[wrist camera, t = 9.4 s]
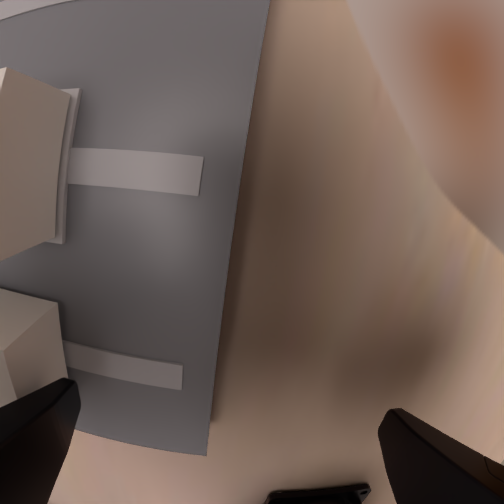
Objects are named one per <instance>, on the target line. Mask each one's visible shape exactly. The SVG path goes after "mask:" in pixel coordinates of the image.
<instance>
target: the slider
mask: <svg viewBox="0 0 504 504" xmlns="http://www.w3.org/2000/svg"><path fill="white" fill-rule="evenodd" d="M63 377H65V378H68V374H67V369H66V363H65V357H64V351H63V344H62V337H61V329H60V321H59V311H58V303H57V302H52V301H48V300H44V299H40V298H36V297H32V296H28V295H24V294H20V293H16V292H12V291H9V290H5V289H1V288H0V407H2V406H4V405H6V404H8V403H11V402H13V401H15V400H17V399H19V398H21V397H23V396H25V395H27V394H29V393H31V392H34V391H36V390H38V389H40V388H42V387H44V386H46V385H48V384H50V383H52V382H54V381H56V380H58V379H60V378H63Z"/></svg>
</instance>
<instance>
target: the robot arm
mask: <svg viewBox="0 0 504 504" xmlns="http://www.w3.org/2000/svg"><path fill="white" fill-rule="evenodd" d="M80 410H81V399H80V394H79V389H78V384H77V382H76V381H75V380H72V379H69V378H65V377H63V378H60V379H58V380H56V381H54V382H52V383H50V384H48V385H46V386H44V387H42V388H40V389H38V390H36V391H34V392H31V393H29V394H27V395H25V396H23V397H21V398H19V399H17V400H15V401H13V402H11V403H8V404H6V405H4V406H2V407H0V504H47V503H48V500H49V498H50V495H51V492H52V490H53V487H54V485H55V482H56V480H57V477H58V475H59V472H60V470H61V467H62V465H63V462H64V460H65V457H66V455H67V452H68V449H69V446H70V443H71V439H72V436H73V433H74V429H75V426H76V422H77V419H78V416H79V413H80ZM378 437H379V441H380V446H381V450H382V455H383V459H384V464H385V468H386V472H387V476H388V479H389V482H390V485H391V488H392V491H393V494H394V497H395V500H396V503H397V504H504V466H503V465H501V464H499V463H497V462H495V461H493V460H491V459H489V458H488V457H486V456H483V455H482V454H480V453H478V452H476V451H475V450H473V449H471V448H469V447H467V446H465V445H464V444H462V443H460V442H458V441H457V440H455V439H453V438H451V437H449V436H448V435H446V434H444V433H442V432H441V431H439V430H437V429H436V428H434V427H432V426H430V425H429V424H427V423H425V422H424V421H422V420H420V419H419V418H417V417H415V416H414V415H412V414H410V413H409V412H407V411H405V410H404V409H402V408H394V409H389V410H388V411H387V413H386V414H385V416H384V418H383V420H382V422H381V424H380V426H379V428H378ZM370 492H371V488H370V486H369V484H363V485H357V486H351V487H344V488H336V489H327V490H317V491H304V492H286V493H273V494H271V495H269V496H268V498H267V500H266V503H265V504H362V502H363V501H364V499H365V498H366V497H367V495H368V494H369V493H370Z"/></svg>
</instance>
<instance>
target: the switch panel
mask: <svg viewBox="0 0 504 504" xmlns="http://www.w3.org/2000/svg"><path fill="white" fill-rule="evenodd" d="M269 4H270V0H0V69H1V68H5V67H8V68H10V69H13V70H15V71H18V72H20V73H22V74H25V75H27V76H30V77H32V78H34V79H37V80H39V81H41V82H44V83H46V84H48V85H51V86H53V87H55V88H57V89H60V90H62V91H64V92H66V93H68V94H71V95H70V99H69V104H68V109H67V115H66V120H65V126H64V132H63V139H62V146H61V154H60V162H59V171H58V183H57V196H56V217H55V237H54V238H52V239H50V240H47V241H45V242H43V243H40V244H38V245H36V246H33V247H31V248H29V249H26V250H24V251H22V252H20V253H17V254H15V255H13V256H11V257H9V258H7V259H4V260H2V261H0V288H1V289H5V290H9V291H12V292H16V293H20V294H24V295H28V296H32V297H36V298H40V299H44V300H48V301H52V302H57V303H58V311H59V321H60V329H61V337H62V344H63V351H64V357H65V363H66V369H67V374H68V378H69V379H72V380H75V381H76V382H77V384H78V389H79V394H80V399H81V410H80V413H79V416H78V419H77V422H76V426H75V429H76V430H79V431H82V432H86V433H89V434H93V435H96V436H100V437H104V438H108V439H112V440H116V441H120V442H124V443H129V444H133V445H138V446H143V447H148V448H154V449H159V450H165V451H172V452H178V453H186V454H193V455H202V456H206V454H207V444H208V435H209V425H210V416H211V406H212V397H213V388H214V379H215V371H216V362H217V354H218V345H219V337H220V329H221V321H222V313H223V305H224V297H225V289H226V281H227V274H228V266H229V259H230V251H231V244H232V237H233V230H234V222H235V215H236V208H237V201H238V194H239V188H240V181H241V174H242V167H243V161H244V154H245V148H246V141H247V135H248V128H249V122H250V116H251V109H252V103H253V97H254V91H255V85H256V79H257V73H258V67H259V61H260V55H261V49H262V43H263V38H264V32H265V26H266V21H267V15H268V10H269Z"/></svg>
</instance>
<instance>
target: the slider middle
mask: <svg viewBox="0 0 504 504" xmlns="http://www.w3.org/2000/svg"><path fill="white" fill-rule="evenodd" d="M70 95H71V94H68V93H66V92H64V91H62V90H60V89H57V88H55V87H53V86H51V85H48V84H46V83H44V82H41V81H39V80H37V79H34V78H32V77H30V76H27V75H25V74H22V73H20V72H18V71H15V70H13V69H10V68H8V67H5V68H1V69H0V261H2V260H4V259H7V258H9V257H11V256H13V255H15V254H17V253H20V252H22V251H24V250H26V249H29V248H31V247H33V246H36V245H38V244H40V243H43V242H45V241H47V240H50V239H52V238H54V237H55V217H56V196H57V183H58V171H59V162H60V154H61V146H62V139H63V132H64V126H65V120H66V115H67V109H68V104H69V99H70Z"/></svg>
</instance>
